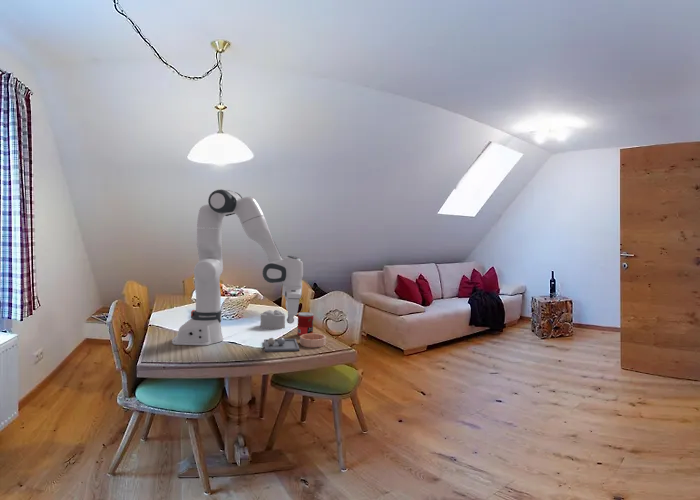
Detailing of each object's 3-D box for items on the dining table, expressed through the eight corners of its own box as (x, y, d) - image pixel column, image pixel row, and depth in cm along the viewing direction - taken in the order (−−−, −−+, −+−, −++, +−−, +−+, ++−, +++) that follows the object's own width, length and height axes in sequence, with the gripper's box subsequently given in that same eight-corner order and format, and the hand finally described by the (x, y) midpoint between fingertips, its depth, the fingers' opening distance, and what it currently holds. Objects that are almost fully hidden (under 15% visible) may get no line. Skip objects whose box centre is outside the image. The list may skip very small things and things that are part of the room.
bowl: (301, 347, 189) (301, 340, 189) (298, 340, 201) (298, 333, 201) (327, 347, 192) (327, 339, 192) (323, 340, 204) (323, 333, 203)
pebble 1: (267, 346, 187) (267, 339, 187) (267, 344, 191) (267, 337, 191) (275, 346, 188) (275, 338, 188) (274, 344, 191) (274, 336, 191)
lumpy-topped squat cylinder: (267, 323, 234) (268, 308, 234) (288, 326, 231) (288, 310, 230) (258, 327, 225) (258, 311, 224) (279, 330, 221) (280, 314, 220)
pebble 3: (286, 324, 189) (287, 316, 189) (286, 322, 192) (286, 315, 192) (294, 324, 190) (294, 317, 190) (293, 322, 193) (294, 315, 193)
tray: (264, 351, 181) (265, 349, 181) (263, 342, 197) (264, 339, 196) (299, 350, 184) (299, 348, 184) (295, 341, 200) (295, 338, 200)
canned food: (310, 337, 208) (311, 315, 207) (295, 336, 210) (295, 314, 209) (314, 333, 216) (315, 312, 215) (300, 332, 217) (300, 311, 217)
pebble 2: (277, 346, 188) (277, 338, 188) (277, 344, 192) (277, 336, 192) (285, 345, 189) (285, 338, 189) (284, 343, 193) (284, 336, 192)
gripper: (283, 287, 200) (281, 316, 200) (286, 294, 180) (284, 326, 180) (296, 288, 201) (294, 316, 202) (301, 295, 181) (299, 326, 182)
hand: (290, 321), depth 191 cm, fingers closed on pebble 3, 3 cm apart
